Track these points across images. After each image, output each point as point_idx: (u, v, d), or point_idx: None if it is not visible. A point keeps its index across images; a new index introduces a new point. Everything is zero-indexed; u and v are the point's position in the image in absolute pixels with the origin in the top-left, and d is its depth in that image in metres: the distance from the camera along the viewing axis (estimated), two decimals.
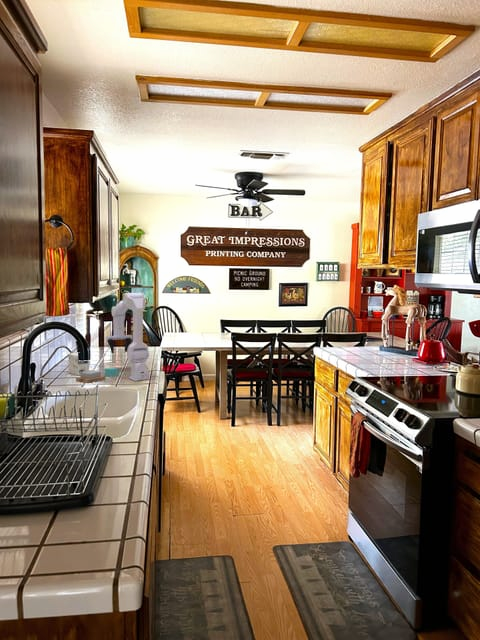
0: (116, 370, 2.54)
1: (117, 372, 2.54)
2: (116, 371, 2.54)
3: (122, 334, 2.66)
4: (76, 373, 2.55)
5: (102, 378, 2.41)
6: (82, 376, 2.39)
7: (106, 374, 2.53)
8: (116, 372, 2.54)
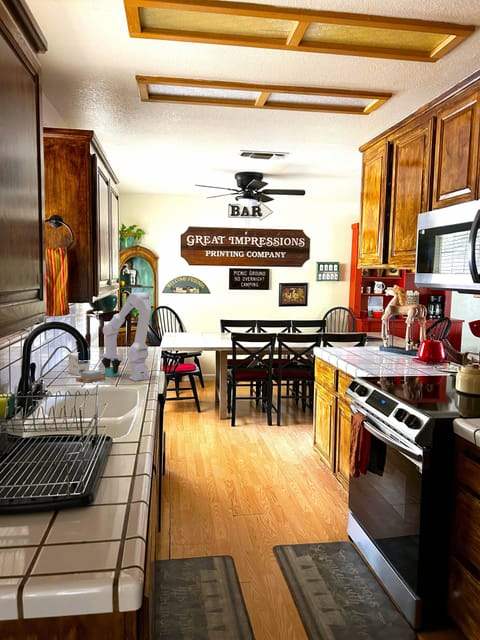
0: None
1: (117, 372, 2.54)
2: None
3: (109, 354, 2.50)
4: (76, 373, 2.55)
5: (102, 378, 2.41)
6: (83, 376, 2.39)
7: (106, 374, 2.53)
8: None
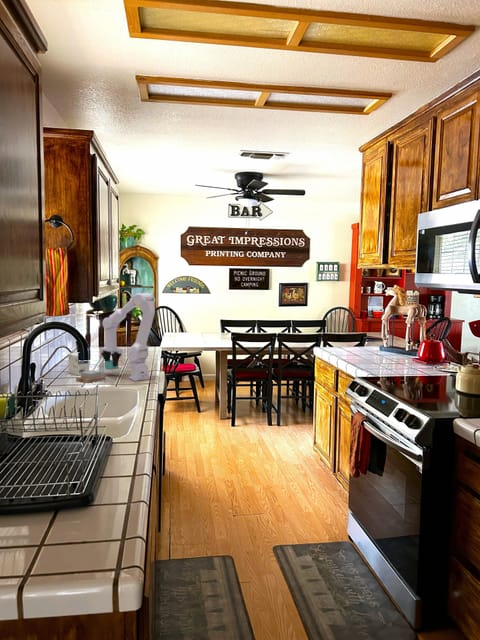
0: None
1: (117, 365, 2.54)
2: None
3: (109, 347, 2.50)
4: (76, 373, 2.55)
5: (102, 378, 2.41)
6: (83, 376, 2.39)
7: (106, 367, 2.52)
8: None
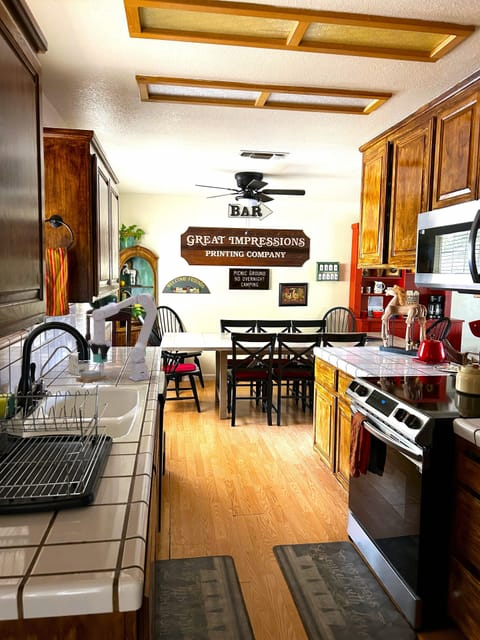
0: None
1: (106, 358, 2.47)
2: None
3: (97, 339, 2.43)
4: (76, 373, 2.55)
5: (102, 378, 2.41)
6: (82, 376, 2.39)
7: (94, 360, 2.45)
8: None
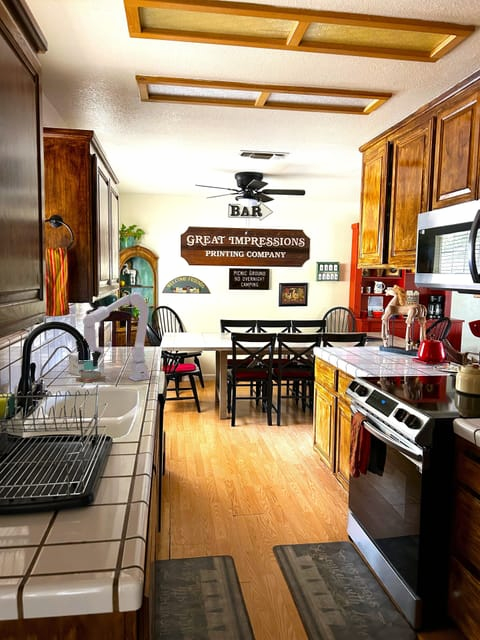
0: None
1: (97, 365, 2.42)
2: None
3: (89, 346, 2.37)
4: (76, 373, 2.55)
5: (102, 378, 2.41)
6: (82, 376, 2.39)
7: (85, 367, 2.39)
8: None
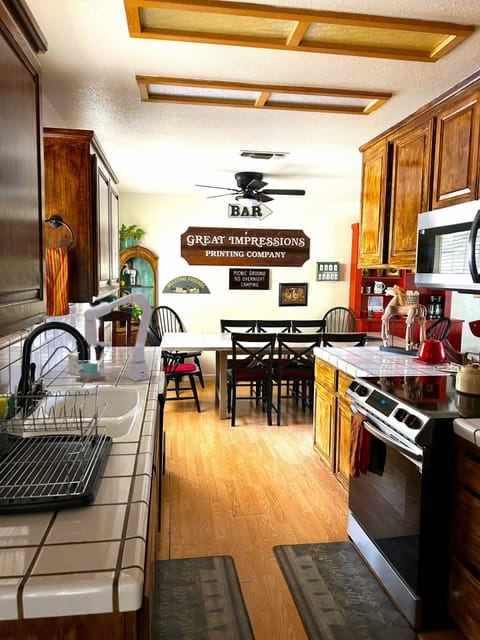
0: (96, 366, 2.41)
1: (96, 368, 2.41)
2: (96, 367, 2.41)
3: (89, 340, 2.37)
4: (76, 373, 2.55)
5: (102, 378, 2.41)
6: (81, 376, 2.39)
7: (85, 370, 2.38)
8: (96, 368, 2.41)
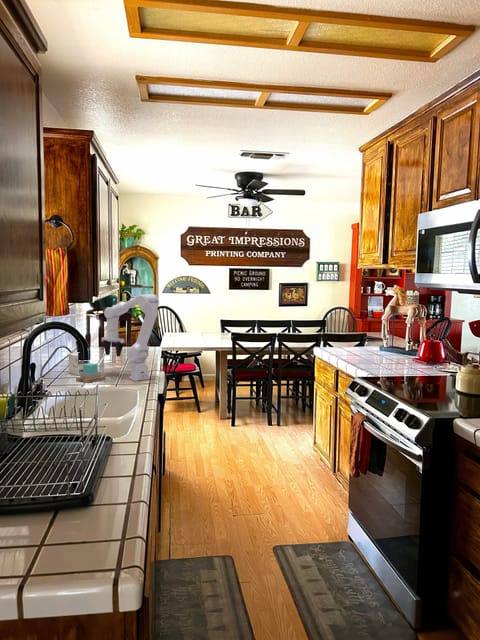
0: (95, 366, 2.40)
1: (96, 368, 2.41)
2: (95, 367, 2.40)
3: (110, 337, 2.51)
4: (76, 373, 2.55)
5: (102, 378, 2.41)
6: (82, 376, 2.39)
7: (85, 371, 2.38)
8: (95, 368, 2.40)
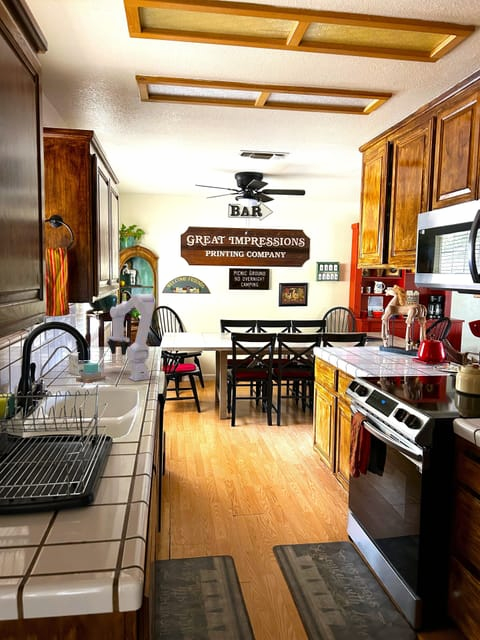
0: (96, 366, 2.41)
1: (97, 368, 2.42)
2: (96, 367, 2.41)
3: (116, 336, 2.55)
4: (76, 373, 2.55)
5: (102, 378, 2.41)
6: (82, 376, 2.40)
7: (85, 370, 2.39)
8: (96, 368, 2.41)
